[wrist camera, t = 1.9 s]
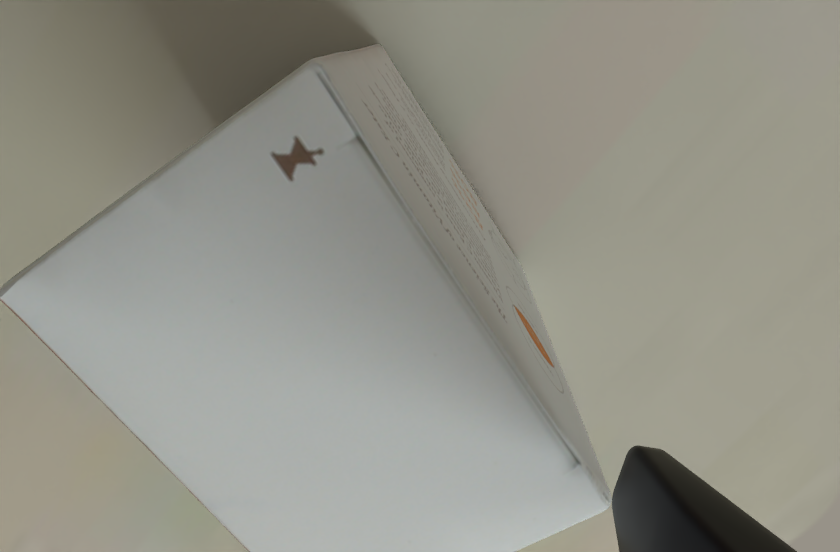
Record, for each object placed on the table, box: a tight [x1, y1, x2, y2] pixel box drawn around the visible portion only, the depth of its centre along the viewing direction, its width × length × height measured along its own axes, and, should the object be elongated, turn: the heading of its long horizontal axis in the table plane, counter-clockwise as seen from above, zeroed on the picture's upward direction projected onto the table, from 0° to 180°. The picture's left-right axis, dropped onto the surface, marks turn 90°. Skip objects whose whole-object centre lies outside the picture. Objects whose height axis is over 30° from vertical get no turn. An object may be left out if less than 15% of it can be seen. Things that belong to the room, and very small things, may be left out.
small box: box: [0, 44, 612, 552], centre depth 14 cm, size 8×6×10 cm
